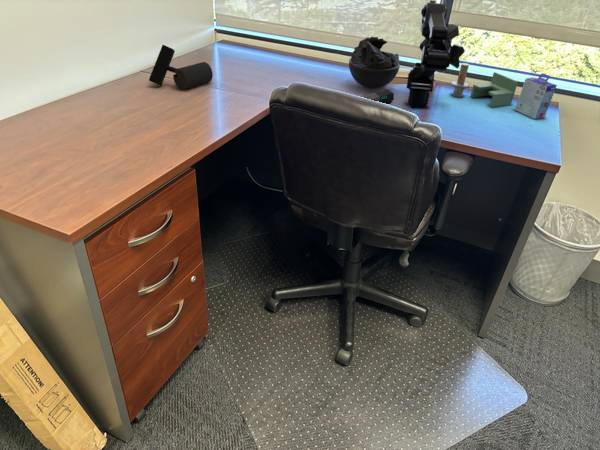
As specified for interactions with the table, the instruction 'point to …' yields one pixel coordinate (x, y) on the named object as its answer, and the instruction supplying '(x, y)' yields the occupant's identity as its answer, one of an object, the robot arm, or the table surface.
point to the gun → (382, 96)
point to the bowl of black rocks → (373, 64)
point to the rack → (496, 90)
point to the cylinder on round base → (460, 81)
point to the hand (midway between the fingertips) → (449, 63)
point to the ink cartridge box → (535, 97)
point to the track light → (180, 71)
